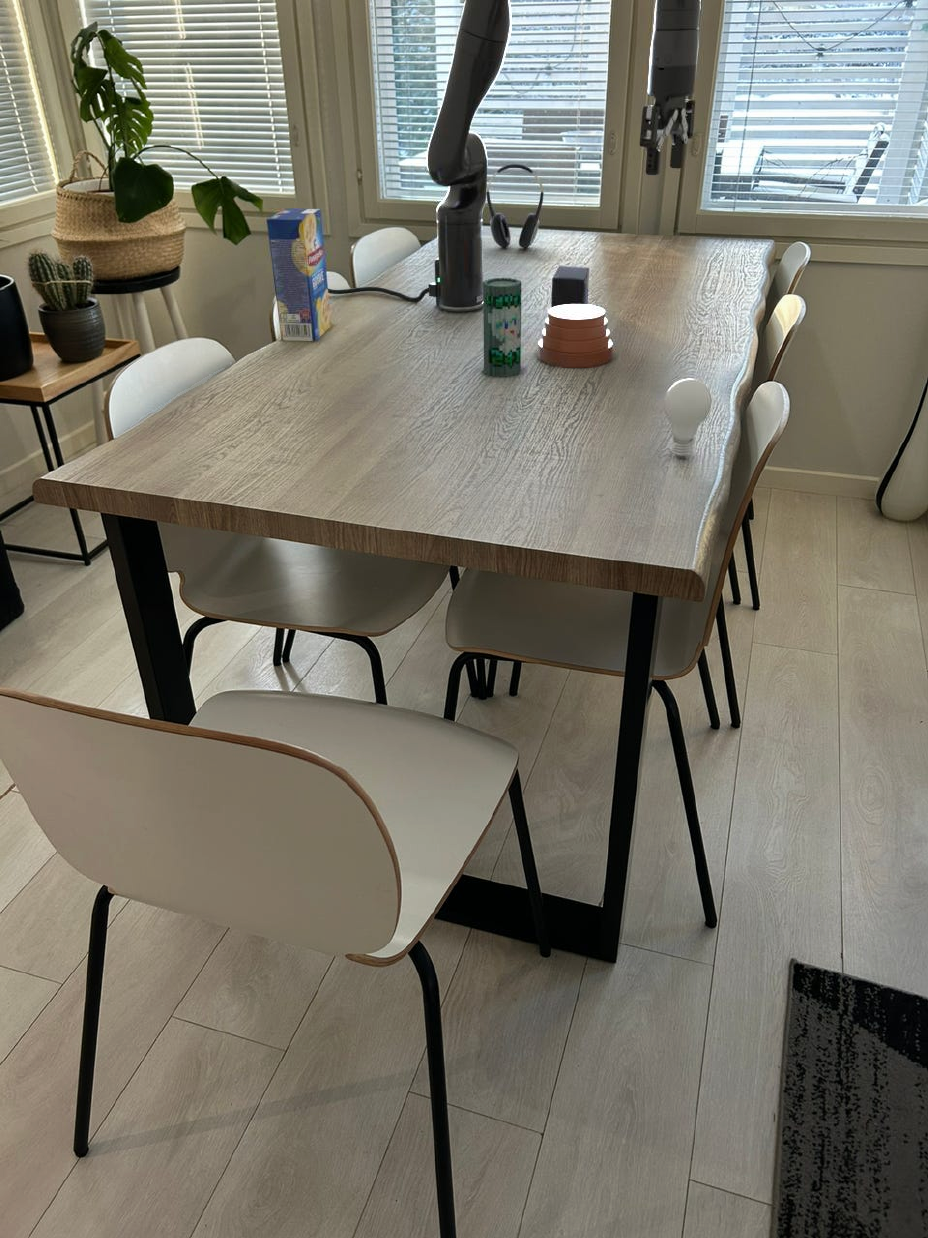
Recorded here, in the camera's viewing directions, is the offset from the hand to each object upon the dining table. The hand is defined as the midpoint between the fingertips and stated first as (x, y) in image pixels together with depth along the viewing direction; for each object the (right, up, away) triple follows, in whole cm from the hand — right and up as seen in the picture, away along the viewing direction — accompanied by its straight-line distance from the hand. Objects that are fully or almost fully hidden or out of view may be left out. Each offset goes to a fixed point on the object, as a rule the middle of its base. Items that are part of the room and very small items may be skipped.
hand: (664, 171), depth 166 cm
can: (-28, -33, +4) cm, 43 cm away
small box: (-14, -19, +25) cm, 35 cm away
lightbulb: (-4, -54, -30) cm, 62 cm away
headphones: (-21, +21, +88) cm, 93 cm away
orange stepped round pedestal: (-14, -29, +9) cm, 34 cm away
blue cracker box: (-65, -20, +26) cm, 73 cm away
